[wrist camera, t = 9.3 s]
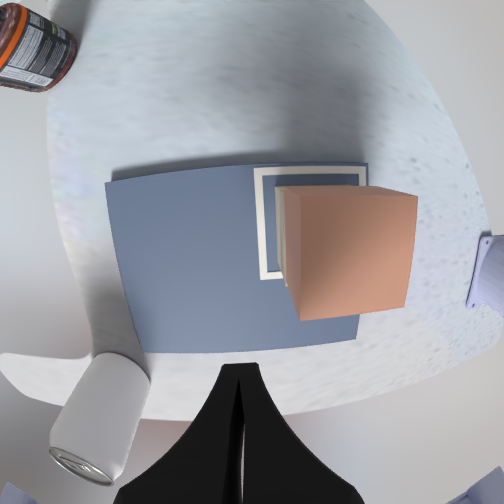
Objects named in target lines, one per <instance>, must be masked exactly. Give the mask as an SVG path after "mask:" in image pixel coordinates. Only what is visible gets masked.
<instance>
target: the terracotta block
mask: <svg viewBox="0 0 504 504" xmlns="http://www.w3.org/2000/svg"><path fill="white" fill-rule="evenodd" d="M284 203H285V241H286V283H287V285H288V288H289V291H290V294H291V297H292V300H293V303H294V306H295V309H296V312H297V315H298V318H299V321H305V320H315V319H324V318H333V317H341V316H349V315H356V314H363V313H370V312H377V311H383V310H390V309H396V308H401V307H404V305H405V300H406V295H407V289H408V284H409V278H410V272H411V265H412V258H413V250H414V241H415V231H416V219H417V204H418V196H414V195H411V194H407V193H403V192H399V191H394V190H390V189H386V188H382V187H377V186H292V187H284Z"/></svg>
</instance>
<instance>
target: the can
mask: <svg viewBox="0 0 504 504" xmlns="http://www.w3.org/2000/svg"><path fill="white" fill-rule="evenodd" d="M149 390H150V382H149V380H148V378H147V376H146V374H145V373H144V371H143V370H142V369H141V368H140V366H139V365H137V364H136V363H135V362H134V361H132V360H131V359H129V358H127V357H125V356H123V355H120V354H117V353H101V354H99V355H97V356H96V357H95V358H94V359H93V361H92V362H91V364H90V365H89V367H88V368H87V370H86V371H85V373H84V374H83V376H82V377H81V379H80V381H79V382H78V384H77V386H76V387H75V389H74V390H73V392H72V394H71V395H70V397H69V399H68V400H67V402H66V404H65V406H64V407H63V409H62V411H61V413H60V415H59V416H58V418H57V420H56V422H55V424H54V425H53V427H52V430H51V432H50V447H48V449H47V450H48V453H49V454H50V456H51V457H52V458H53V459H54V460H55V461H56V462H57V463H58V464H60V465H61V466H62V467H64V468H65V469H66V470H68V471H69V472H71V473H73V474H74V475H76V476H78V477H80V478H82V479H84V480H86V481H88V482H91V483H94V484H97V485H100V486H106V487H111V486H113V484H114V483H113V481H114V480H115V479H116V478H117V477H118V476H120V474H122V472H123V469H124V466H125V464H126V460H127V457H128V454H129V451H130V448H131V445H132V442H133V438H134V435H135V432H136V429H137V426H138V423H139V420H140V417H141V414H142V411H143V408H144V405H145V402H146V399H147V396H148V393H149Z"/></svg>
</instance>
